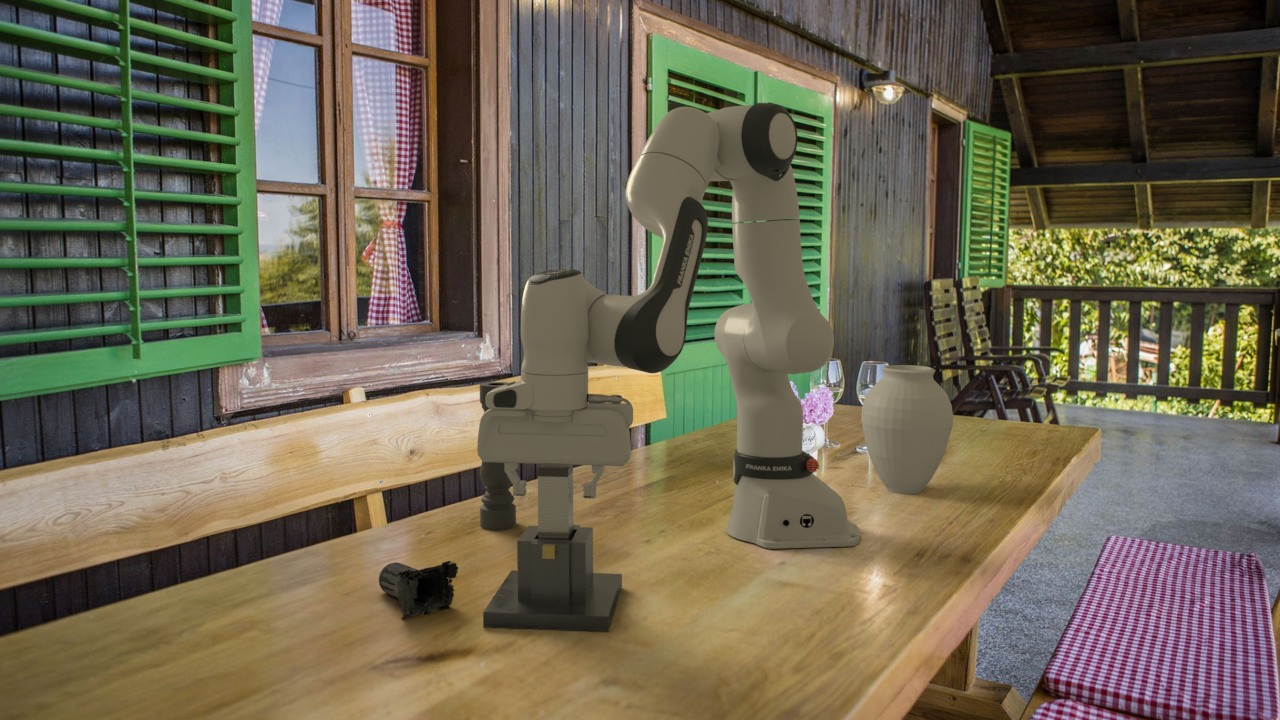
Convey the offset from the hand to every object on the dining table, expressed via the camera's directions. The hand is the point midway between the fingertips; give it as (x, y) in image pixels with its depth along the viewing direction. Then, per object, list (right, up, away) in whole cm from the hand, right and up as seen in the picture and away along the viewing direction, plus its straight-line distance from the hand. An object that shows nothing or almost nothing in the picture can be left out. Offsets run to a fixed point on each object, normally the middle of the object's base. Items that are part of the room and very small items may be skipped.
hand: (554, 496), depth 125 cm
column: (0, -13, +1) cm, 13 cm away
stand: (0, -15, +2) cm, 15 cm away
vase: (+65, -8, +66) cm, 93 cm away
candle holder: (-13, -11, +40) cm, 44 cm away
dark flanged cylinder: (-20, -15, +3) cm, 26 cm away
